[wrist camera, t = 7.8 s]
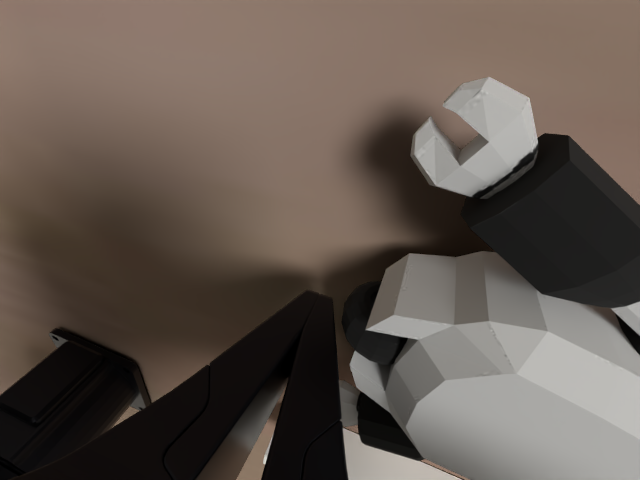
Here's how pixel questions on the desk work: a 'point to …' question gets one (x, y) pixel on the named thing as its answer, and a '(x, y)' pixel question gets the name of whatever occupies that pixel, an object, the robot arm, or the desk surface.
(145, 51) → the desk surface
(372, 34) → the desk surface
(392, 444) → the robot toy
